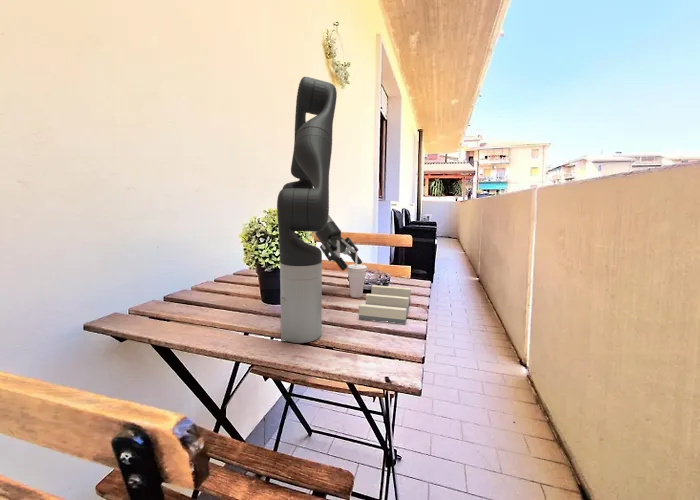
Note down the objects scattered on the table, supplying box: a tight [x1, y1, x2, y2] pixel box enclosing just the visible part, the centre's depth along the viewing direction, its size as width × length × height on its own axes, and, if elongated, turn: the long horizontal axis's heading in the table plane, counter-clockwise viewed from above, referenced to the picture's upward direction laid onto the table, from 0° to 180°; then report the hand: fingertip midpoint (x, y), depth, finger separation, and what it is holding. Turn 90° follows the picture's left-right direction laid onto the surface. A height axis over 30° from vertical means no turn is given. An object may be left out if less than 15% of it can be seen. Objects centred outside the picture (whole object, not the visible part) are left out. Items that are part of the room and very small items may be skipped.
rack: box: [358, 284, 412, 324], centre depth 96 cm, size 20×12×4 cm, turn 166°
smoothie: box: [346, 252, 368, 299], centre depth 106 cm, size 6×6×14 cm
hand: (352, 266), depth 106 cm, fingers open, 8 cm apart
